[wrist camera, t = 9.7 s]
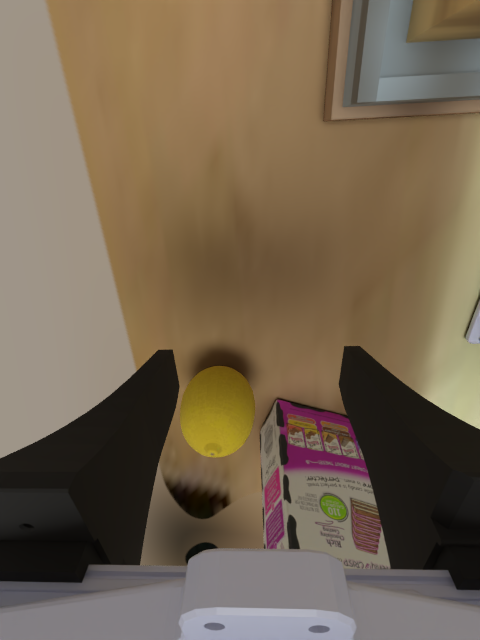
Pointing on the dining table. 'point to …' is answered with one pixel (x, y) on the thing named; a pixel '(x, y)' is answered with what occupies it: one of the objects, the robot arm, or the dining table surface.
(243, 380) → the lemon
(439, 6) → the wooden block
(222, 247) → the dining table surface
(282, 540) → the candy bar box
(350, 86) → the grey storage bin
